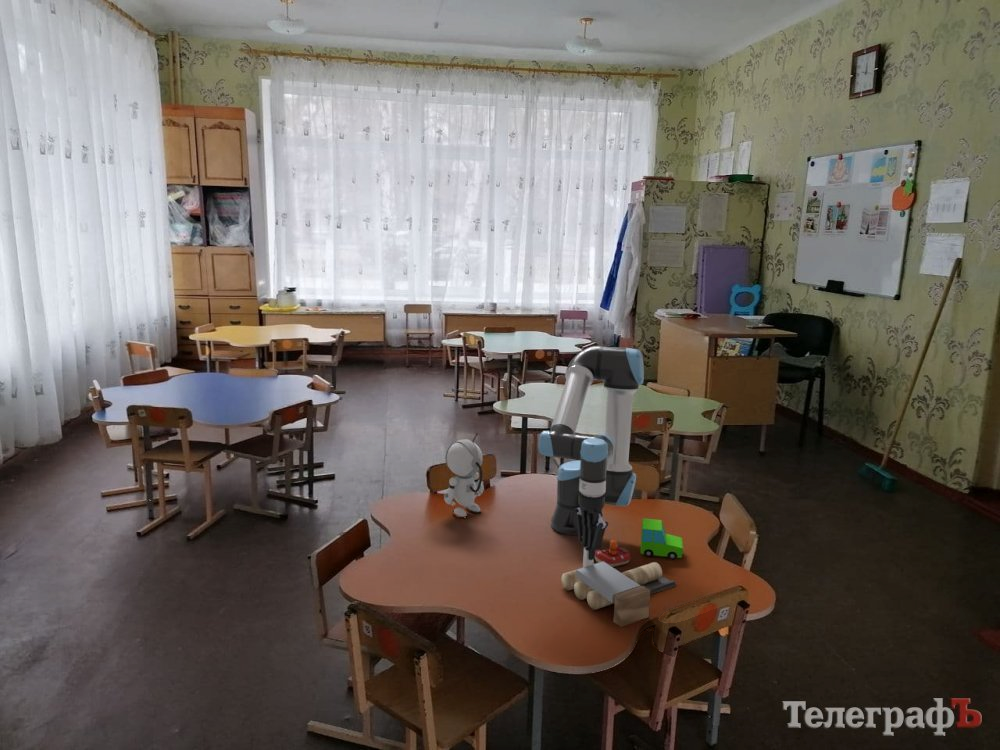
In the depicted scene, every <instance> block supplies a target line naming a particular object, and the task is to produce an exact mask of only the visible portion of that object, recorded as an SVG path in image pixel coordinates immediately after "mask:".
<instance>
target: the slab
mask: <svg viewBox="0 0 1000 750" xmlns="http://www.w3.org/2000/svg"><path fill="white" fill-rule="evenodd" d="M575 570H576V578H578V579H579V580H580V581H582V582H583V583H585V584H586V585H587V586H589V587H590V588H592V589H593V590H594V591H596V592H597V593H599V594H600V595H601V596H603V597H604V598H606V599H607V600H608V601H610V602H611V603H614V602H615V595H617V594H620V593H623V592H626V591H629V590H632V589H635V588H638V587H640V585H639V584H637V583H636V582H634V581H633V580H631V579H630V578H628V577H627V576H625V575H624V574H622V572H620V570H617V569H616V568H614V567H611V566H610V565H608V564H607V563H605V562H604V561H603V562H600V563H598V562H596V563H593V565H590V566H586V567H583V566H582V567H581V568H576V569H575ZM614 604H615V603H614Z"/></svg>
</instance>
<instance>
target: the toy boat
mask: <svg viewBox="0 0 1000 750" xmlns="http://www.w3.org/2000/svg"><path fill="white" fill-rule="evenodd" d="M594 560H595V561H596V563H600V562H603V561H604V562H605V563H607V564H608V565H610V566H611V567H613V568H614V567H618V566H622V565H623V566H624V565H626V564H628V563H630V560H631V554H630V551H629V550H627V549H626V548H624V547H619V544H618V541H616V540H615V539H612V540H610V541H609V548H606V549H603V550H602V549H601V550H600V549H597V550H595V558H594Z"/></svg>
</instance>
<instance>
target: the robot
mask: <svg viewBox="0 0 1000 750" xmlns="http://www.w3.org/2000/svg"><path fill="white" fill-rule="evenodd" d="M477 435H479V432H476V433H475V435H474V437H473V439H472V440H471V439H459V440H456V441H455V442H453V443H452V444H450V446H448V448H447V450H446V453H445V465H446V466H447V467H448V468H449V470H450V471H451V472H452V473H453V474H455V475H456V476H453V477H451V478H450V479H449V481H448V482H449V484H448V485H449V487H448V488H447V489H446V491H445V492H444V494H443V498H444V499H443V500H444V502H445V503H446V504H447V505H450V506H452V507H454V506H456V504H457V503H458V504H459V505H460V506H462V507H456V508H455V509H454V510H453V511H454V513H455V514H457V515H459V516H463V517H466V516H467V517H468V514H467V512H466V510H467V509H468V510H470V511H472V512H476V513H475V514H480V513H479V512H481V513H482V510H481V508H480V505H478V503H475V499H476V498H477V497H480V496H481V495H482V494H483V492H484V484H483V483H482V480H483V468H482V465H483V452H482V450H481V448H480V447H479V446H478V445H477V444H476V443H475V440H476V438H477ZM453 500H455V501H456V502H457V503H456V502H455V501H453ZM463 507H464V508H465V509H466V508H467V509H466V510H465V509H464V508H463ZM468 510H467V511H468ZM472 512H471V513H472Z"/></svg>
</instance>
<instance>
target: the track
mask: <svg viewBox="0 0 1000 750" xmlns="http://www.w3.org/2000/svg"><path fill="white" fill-rule="evenodd" d="M576 570H577V569H574V570H570V571H567V572H564V573H562V575H561V584H562V586H563V588H564V589H565V590H567V591H571V590H573V592H574V594H575V596H576V598H577V599H579V600H581V601H583V600H585V599H586V601H587V604H588V606H589V607H590V608H591V609H592V610H593V611H595V610H599V609H602V608H605V607H607V606H611V605H614V607H613V608H614V609H613V623H614V624H616V625H617V626H618V627H620V628H622V627H625V626H628V625H631V624H633V623H636V622H639V621H641V619H642V620H644V619H647V618H650V617H649V613H650V601H651V595H654V594H656V592H657V593H659V592H658V591H660V592H662V591H665V590H668V589H671V588H673V587H676V586H677V584H676V581H675V580H673V579H671V580H669V579H668V578H667V577H664V576H663V575H662V577H661V578H660V579H657V580H654V581H651V582H648V583H645V584H642V585H640V587H638V588H635V589H632V590H629V591H626V592H623V593H620V594H617V595H615V602H614V603H611V602H610V601H608V600H607V599H606V598H604V597H603V596H601V595H600V594H599V593H597V592H596V591H594V590H593V589H592V588H590V587H589V586H587V585H586V584H585V583H583V582H582V581H580V580H579V579H578V578H576ZM653 593H654V594H653ZM650 594H651V595H650Z"/></svg>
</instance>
